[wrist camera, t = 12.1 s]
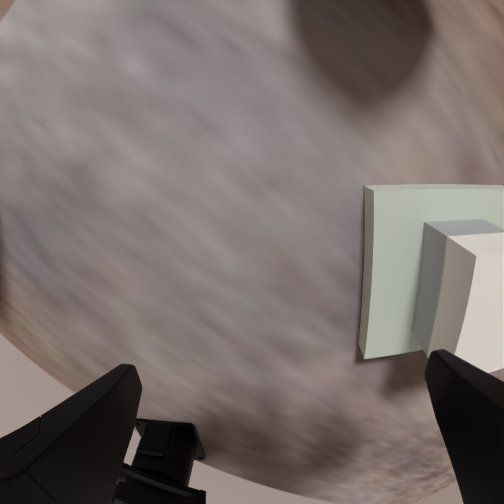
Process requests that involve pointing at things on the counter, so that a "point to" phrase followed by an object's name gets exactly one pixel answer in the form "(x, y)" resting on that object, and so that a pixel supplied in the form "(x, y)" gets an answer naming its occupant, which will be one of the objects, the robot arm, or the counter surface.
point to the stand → (408, 253)
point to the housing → (462, 292)
